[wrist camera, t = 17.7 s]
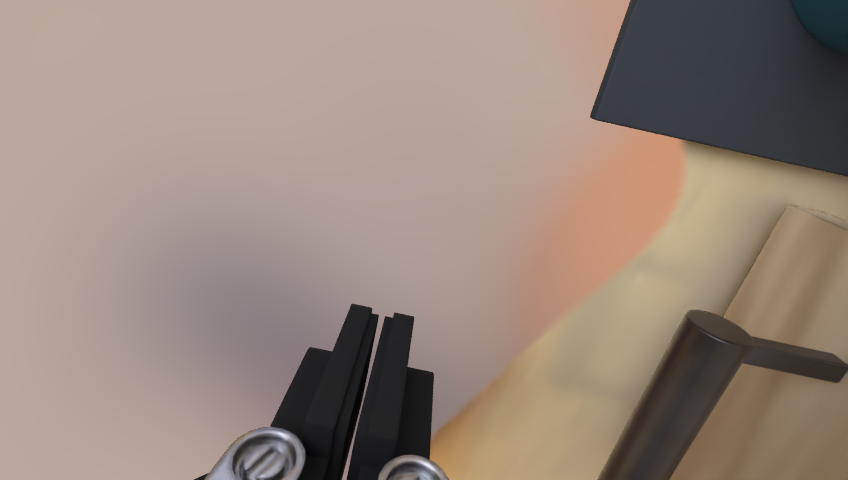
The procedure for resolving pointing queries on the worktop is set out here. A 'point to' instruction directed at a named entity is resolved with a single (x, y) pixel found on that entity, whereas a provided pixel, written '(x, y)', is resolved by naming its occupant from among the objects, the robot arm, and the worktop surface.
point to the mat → (729, 80)
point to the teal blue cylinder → (825, 21)
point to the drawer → (755, 373)
